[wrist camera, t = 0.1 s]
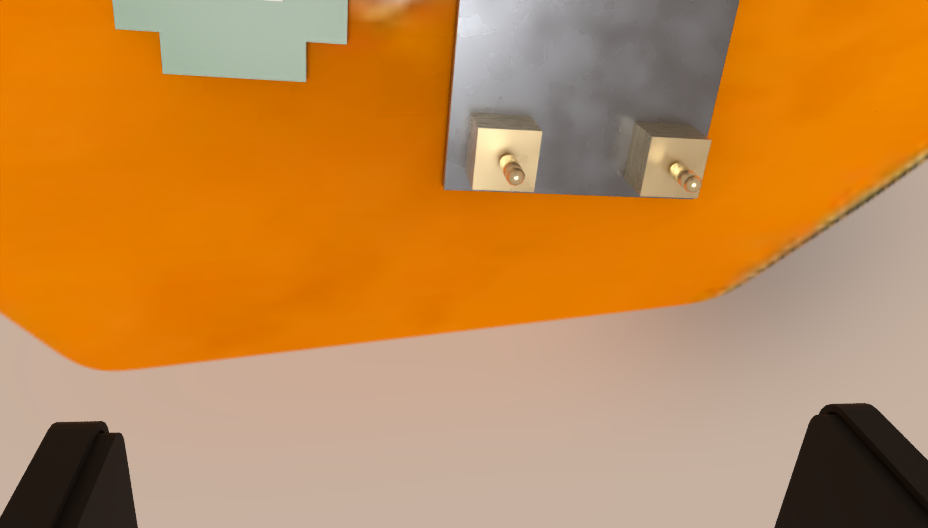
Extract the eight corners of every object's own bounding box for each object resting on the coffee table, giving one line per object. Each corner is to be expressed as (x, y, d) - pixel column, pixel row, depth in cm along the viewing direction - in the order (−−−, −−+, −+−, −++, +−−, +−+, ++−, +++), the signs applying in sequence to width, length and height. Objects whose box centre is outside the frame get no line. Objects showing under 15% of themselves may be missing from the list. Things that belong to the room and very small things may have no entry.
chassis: (469, -145, 40) (491, -149, 33) (757, -114, 42) (827, -113, 36) (442, 183, 48) (455, 230, 41) (686, 193, 50) (733, 238, 44)
